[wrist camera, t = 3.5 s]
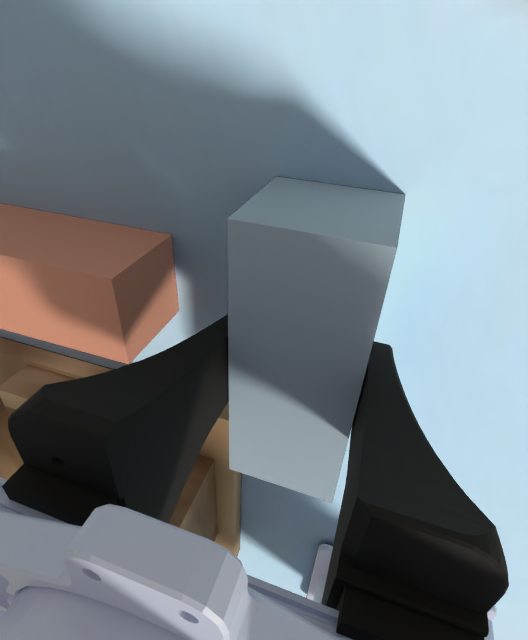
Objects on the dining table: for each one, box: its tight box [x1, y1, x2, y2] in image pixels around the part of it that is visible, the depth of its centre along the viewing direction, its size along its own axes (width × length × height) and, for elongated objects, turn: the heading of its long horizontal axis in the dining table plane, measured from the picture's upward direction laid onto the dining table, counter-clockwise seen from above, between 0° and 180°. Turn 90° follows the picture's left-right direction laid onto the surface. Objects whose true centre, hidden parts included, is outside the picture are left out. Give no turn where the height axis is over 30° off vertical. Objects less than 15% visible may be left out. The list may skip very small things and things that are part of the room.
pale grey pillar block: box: [227, 176, 405, 503], centre depth 14 cm, size 4×10×4 cm, turn 178°
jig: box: [0, 337, 241, 557], centre depth 23 cm, size 16×14×6 cm
